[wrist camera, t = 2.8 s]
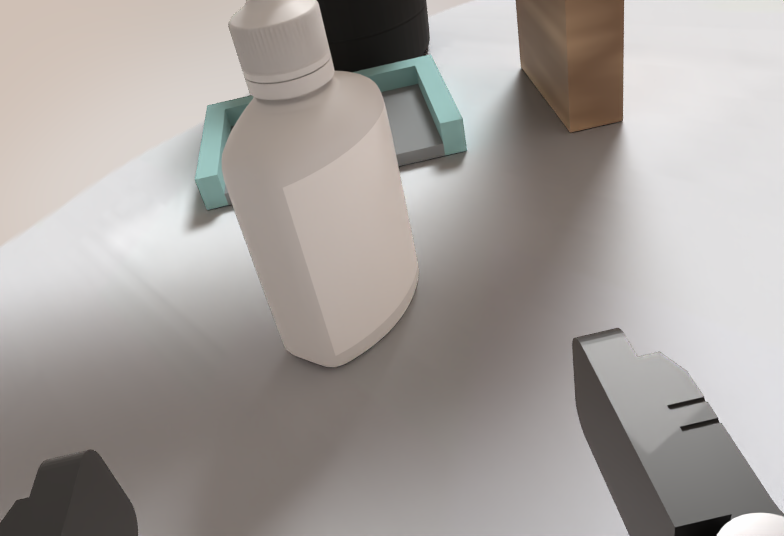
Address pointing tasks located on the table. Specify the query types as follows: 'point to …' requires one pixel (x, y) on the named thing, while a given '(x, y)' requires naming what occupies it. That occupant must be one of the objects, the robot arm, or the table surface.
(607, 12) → the shelf
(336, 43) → the pen holder
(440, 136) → the mint green tray
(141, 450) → the table surface
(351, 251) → the eye dropper bottle
